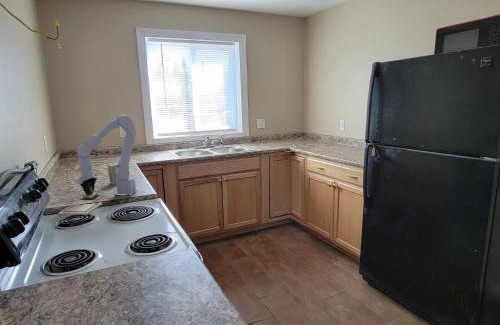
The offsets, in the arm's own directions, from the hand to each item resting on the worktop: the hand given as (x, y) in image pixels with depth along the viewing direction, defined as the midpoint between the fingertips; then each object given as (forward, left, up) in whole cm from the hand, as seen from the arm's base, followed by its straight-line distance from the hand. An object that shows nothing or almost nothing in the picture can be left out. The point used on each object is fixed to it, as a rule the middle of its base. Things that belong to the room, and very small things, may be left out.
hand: (89, 192), depth 164 cm
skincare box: (+1, -30, -4) cm, 30 cm away
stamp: (0, 0, -2) cm, 2 cm away
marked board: (-3, +13, -4) cm, 14 cm away
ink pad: (0, 0, -4) cm, 4 cm away
